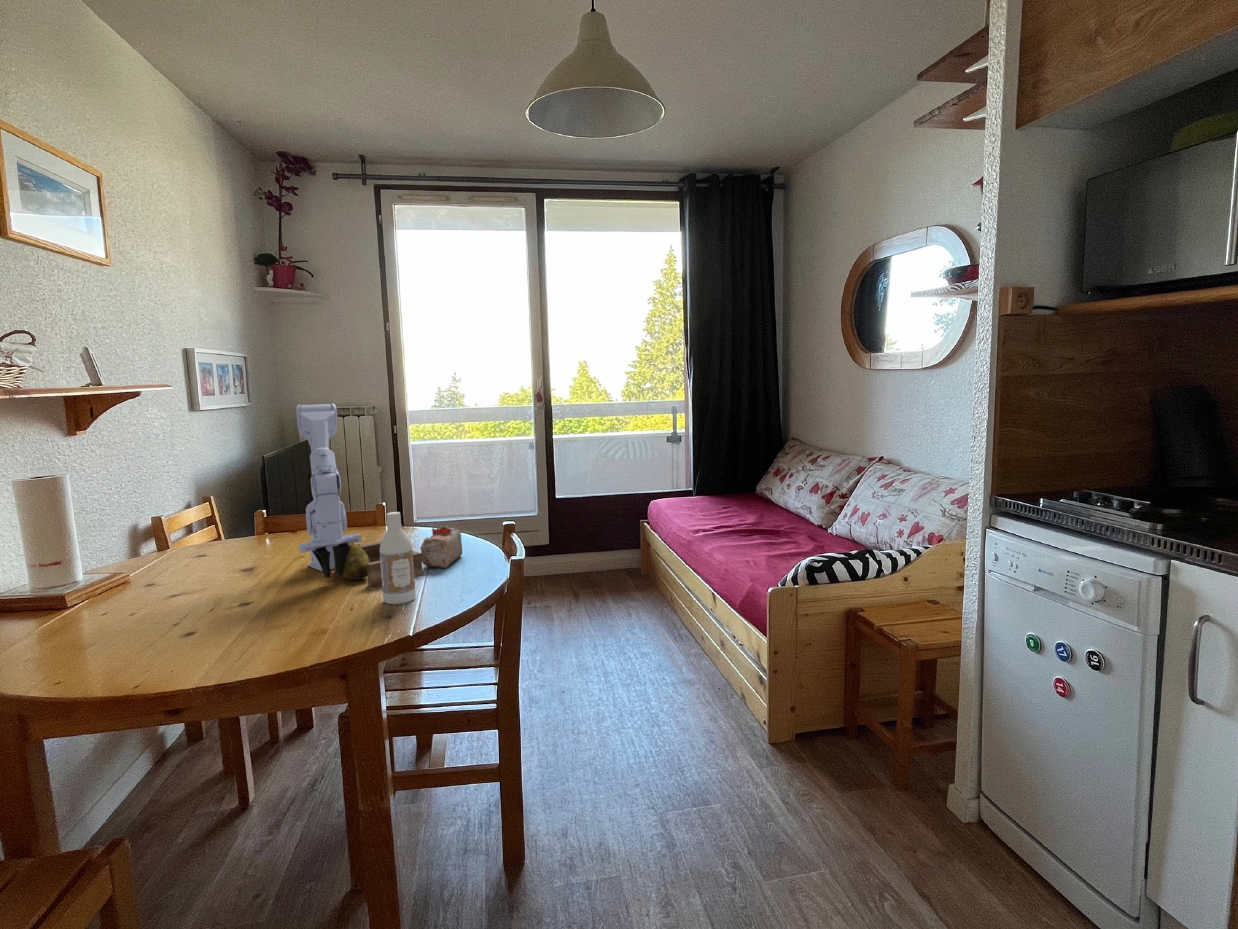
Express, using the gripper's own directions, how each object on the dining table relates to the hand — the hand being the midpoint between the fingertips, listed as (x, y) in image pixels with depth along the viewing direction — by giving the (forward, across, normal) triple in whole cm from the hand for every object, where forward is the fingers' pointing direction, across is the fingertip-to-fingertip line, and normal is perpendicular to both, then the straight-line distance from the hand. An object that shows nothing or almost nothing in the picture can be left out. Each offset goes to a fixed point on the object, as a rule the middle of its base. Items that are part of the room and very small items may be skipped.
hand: (333, 575), depth 160 cm
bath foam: (+3, +4, -25) cm, 26 cm away
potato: (+2, +6, +2) cm, 6 cm away
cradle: (+2, +11, 0) cm, 11 cm away
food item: (+2, +27, -5) cm, 28 cm away
